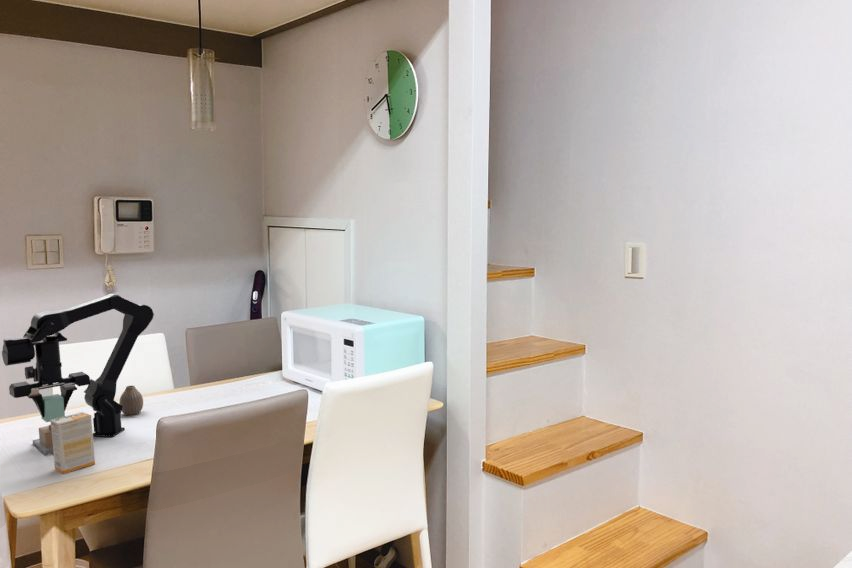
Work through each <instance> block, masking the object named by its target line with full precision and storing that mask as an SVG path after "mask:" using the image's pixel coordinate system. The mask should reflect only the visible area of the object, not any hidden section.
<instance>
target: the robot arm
mask: <svg viewBox="0 0 852 568" xmlns="http://www.w3.org/2000/svg"><path fill="white" fill-rule="evenodd" d="M112 310H114V311H118V312H119V313H121V314H123V315H124V316H123V319H122V329H121V332H120V334H119V337H118V339H117V341H116V343H115V345H114V347H113V349H112V352H111V354H110V355H109V357H108V359H107V362H106V364H105V366H104V368H103V369H102V372H101V374H100V375H99V377H98V378H96V379H95V380H93V379H92V378H91V377H90V376H89V375H88V374H87V373H85V372H83V371H79V372H73V373H69V374H68V377H62V376H63V374H62V373H63V372H62V366H63V365H62V362H61V352H60V349H61V348H60V342H67V341H68V338H67V337H65V336H64V335H63V334H62V332H61V331H63V330H65V329H67V327H69V326H70V325H72V324H74V323H76V322H79V321H80V322H81V320H85V319H88V318H91V317H94V316H97V315H101V314H103V313H105V312H108V311H112ZM154 317H155V313H154V311H153V309H152V307H151V306H149V305H148V304H147V305H146V304H143V303H138V302H134V301H133V302H132V301H131V300H128V299H126V298H124V297H122V296H120V295H119V294H116V293H109V294H107V295H105V296H102V297H98V298H95V299H93V300H90V301H85V302H84V303H80V304H77V305H74V306H72V307H71V306H70V307H68V308H64V309H55V310H54V309H53V310H52V309H51V310H46V311H39V312H37V313H35V314H34V315H33V316H32V318H31V321H30V326H29V327H28V329H27V330H26V332H25V333H24V334H23V337H19V338H6V339H3V345H2V350H1V356H2V360H3V364H4V365H5V367H7V366H12V365H20V364H27V363H31V362H32V360H34V358H35V361H36V362H35V368H34V366H33V365H30V366H25V367H24V375H25V376H24V378H25V380H30V379H33V382H34V383H29V382H27V381H20V382H14V383H10V385H9V387H8V390H9V393H8V394H9V395H10V396H11V397H13V398H15V399H18V398H24V397H27V398H28V399H32V401H33V402H34V404H35V406H36V408H37V410H38V411H39V414H40V416H42V417H44V406H43V399H42V397H43V395H42V394H41V393H40V390H46V389H51V388H56V387H59V390H60V395H61V396H62V397H63V400H64V412H65V411H66V409H67V406H68V404H69V401H70V399H71V397H72V395H73V393H74V391H77V390H78V387H82V386H83V387H84V386H86V389H85V390H84V391H83V393H85V394H84V402H85V404H87V405H88V406H89V407H90V408H92V409H93V412H94V413H93V417H92V426H93V437H115V436H116V435H118V434H120V433H121V432H122V431H124V430H125V427H123V426H122V417H121V416H122V415H121V414H122V405H120V404H119V402H118V401H116V400H115V397H116V393H117V383H118V382H117V381H118V380H119V378H120V376H121V373H122V371H123V369H124V367H125V365H126V363H127V361H128V359H129V357H130V354H131V352H132V350H133V348H134V345H135V344H136V342H137V339H138V338H139V336H140V335H141V334H143V332H144V331H145V330H146V329H147V328H148V326H149V325H150V324H151V322H152V321H153V319H154ZM65 413H66V412H65ZM42 417H41V418H42Z"/></svg>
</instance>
